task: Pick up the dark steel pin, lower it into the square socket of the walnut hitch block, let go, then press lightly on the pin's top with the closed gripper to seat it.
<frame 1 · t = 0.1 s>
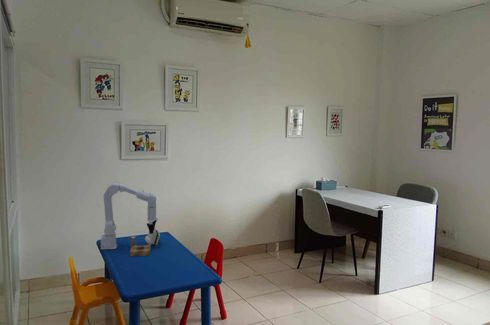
hand: (151, 231, 258), 10 cm above the table, tool pointing down, fingers open, 7 cm apart
pin: (133, 247, 256), on the table
hitch block: (140, 252, 245), on the table
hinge: (152, 242, 269), on the table
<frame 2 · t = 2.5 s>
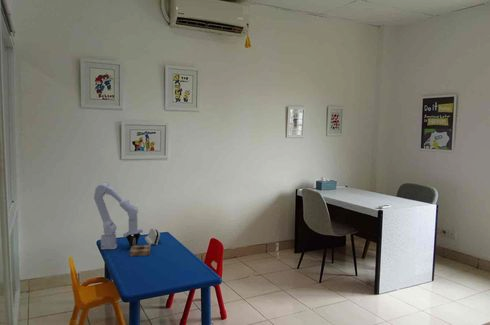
hand: (133, 244, 256), 2 cm above the table, tool pointing down, fingers closed on pin, 4 cm apart
pin: (133, 247, 256), on the table, touching gripper
everything else where it was.
when the fingers open (3 cm above the table, at t = 6.7 s): pin drops 2 cm, resting in hitch block.
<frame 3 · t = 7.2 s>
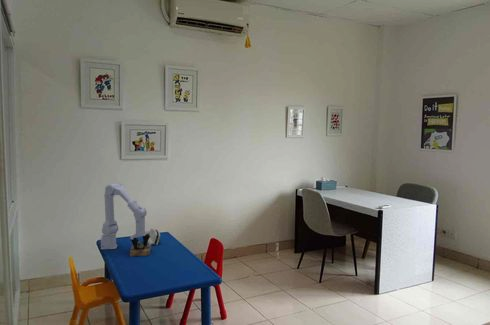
hand: (140, 247, 245), 3 cm above the table, tool pointing down, fingers open, 7 cm apart
pin: (140, 252, 245), resting in hitch block
everything else where it was.
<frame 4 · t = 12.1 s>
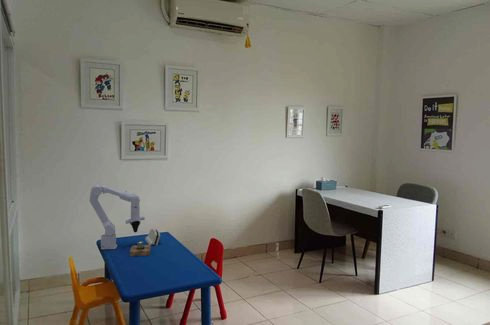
hand: (135, 232, 259), 9 cm above the table, tool pointing down, fingers closed
nothing on the table moved.
at the end: pin 0.0 cm off-centre on the hitch block, point 0.0 cm above the hitch block's base; pin tilted 1°; the gripper is holding nothing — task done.
